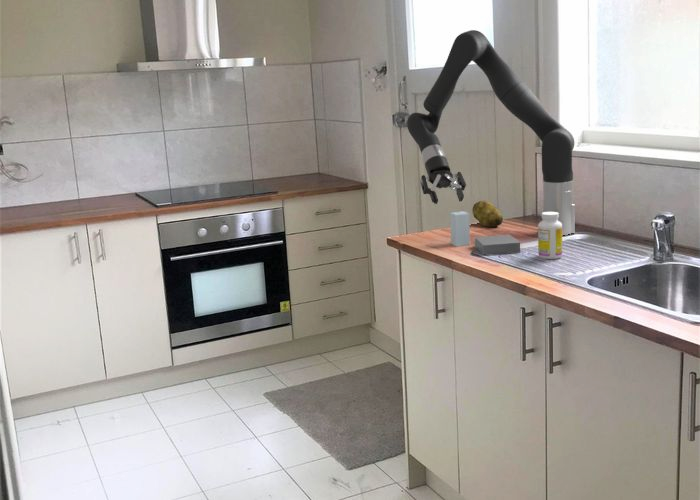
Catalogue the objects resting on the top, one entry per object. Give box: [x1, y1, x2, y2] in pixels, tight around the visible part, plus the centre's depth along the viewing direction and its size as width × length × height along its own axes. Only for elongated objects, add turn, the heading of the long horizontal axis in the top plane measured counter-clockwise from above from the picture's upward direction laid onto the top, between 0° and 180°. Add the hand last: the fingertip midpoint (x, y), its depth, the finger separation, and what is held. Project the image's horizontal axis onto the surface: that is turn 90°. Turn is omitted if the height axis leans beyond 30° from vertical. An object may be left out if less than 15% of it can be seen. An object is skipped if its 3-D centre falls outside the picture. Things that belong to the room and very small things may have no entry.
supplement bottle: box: [537, 211, 563, 260], centre depth 222 cm, size 7×7×13 cm
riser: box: [474, 234, 521, 255], centre depth 235 cm, size 11×11×3 cm
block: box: [449, 210, 471, 247], centre depth 244 cm, size 4×4×10 cm
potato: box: [471, 200, 504, 228], centre depth 269 cm, size 8×13×8 cm, turn 8°
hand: (449, 201), depth 250 cm, fingers open, 8 cm apart
